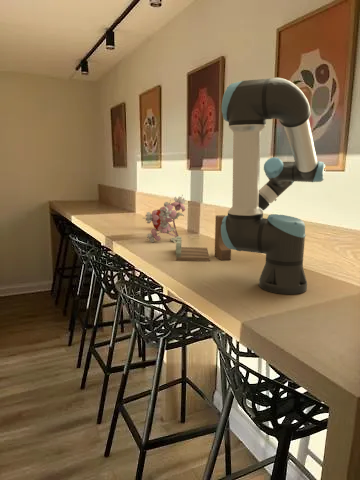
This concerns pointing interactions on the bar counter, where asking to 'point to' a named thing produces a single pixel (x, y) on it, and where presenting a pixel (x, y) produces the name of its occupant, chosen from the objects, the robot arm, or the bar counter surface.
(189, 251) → the walnut edge board
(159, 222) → the red rounded piece
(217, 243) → the wooden block
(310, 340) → the bar counter surface
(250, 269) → the bar counter surface
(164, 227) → the flower
